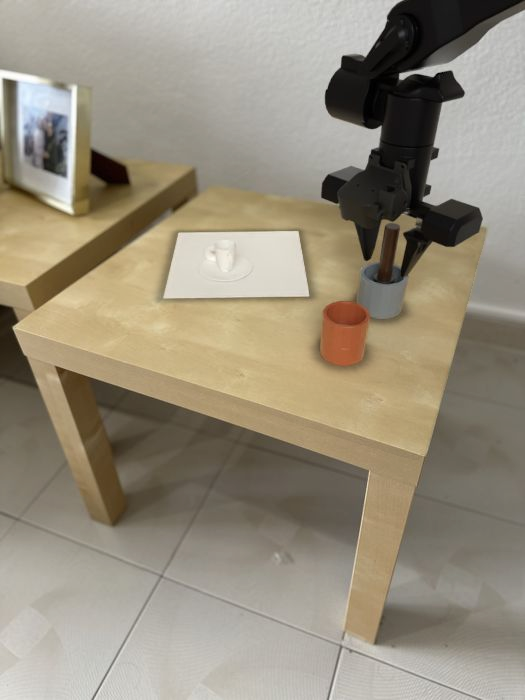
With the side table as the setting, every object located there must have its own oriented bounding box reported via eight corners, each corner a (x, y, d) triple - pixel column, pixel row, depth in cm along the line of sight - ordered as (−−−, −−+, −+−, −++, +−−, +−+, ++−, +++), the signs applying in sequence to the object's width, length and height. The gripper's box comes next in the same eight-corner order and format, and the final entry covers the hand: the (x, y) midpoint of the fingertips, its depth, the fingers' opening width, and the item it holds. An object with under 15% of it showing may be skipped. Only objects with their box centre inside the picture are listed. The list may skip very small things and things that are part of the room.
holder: (373, 352, 60) (379, 314, 57) (344, 372, 58) (349, 333, 54) (339, 333, 63) (343, 295, 60) (310, 351, 61) (313, 312, 57)
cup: (410, 306, 68) (417, 274, 65) (383, 324, 65) (389, 291, 62) (374, 289, 71) (379, 257, 68) (346, 305, 68) (350, 272, 65)
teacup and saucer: (201, 254, 79) (198, 230, 77) (252, 253, 79) (252, 229, 77) (196, 284, 72) (194, 258, 70) (252, 283, 72) (252, 257, 70)
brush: (393, 303, 68) (408, 226, 61) (381, 311, 66) (395, 232, 59) (377, 295, 69) (390, 219, 62) (365, 302, 68) (377, 225, 61)
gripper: (291, 135, 56) (287, 262, 66) (441, 182, 45) (409, 325, 55) (357, 116, 62) (344, 235, 71) (503, 154, 51) (465, 288, 61)
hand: (385, 267), depth 64 cm, fingers open, 5 cm apart
